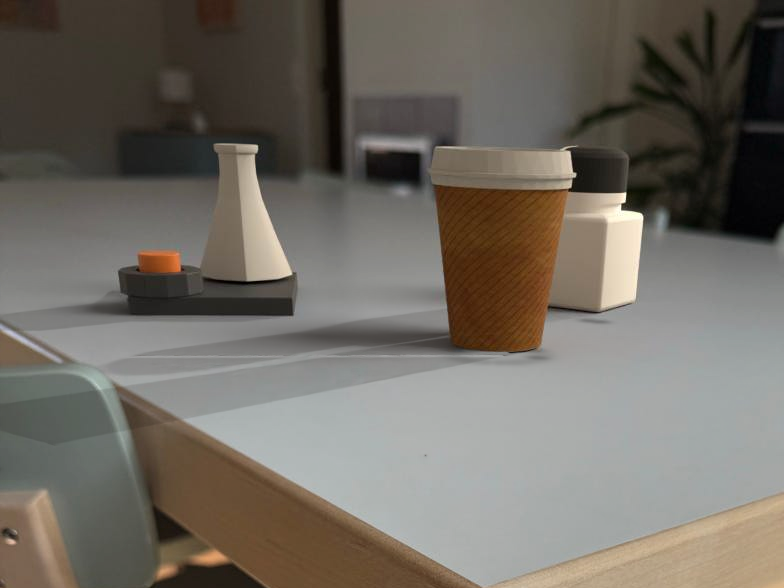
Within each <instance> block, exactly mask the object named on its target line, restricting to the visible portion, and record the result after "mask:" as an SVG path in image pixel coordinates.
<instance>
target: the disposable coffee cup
mask: <svg viewBox="0 0 784 588" xmlns="http://www.w3.org/2000/svg"><path fill="white" fill-rule="evenodd" d="M426 170H427V173H428V174H430V183H431V184H433V185H434V194H435V204H436V205H435V206H436V214H437V225H438V233H439V242H440V244H439V245H440V253H441V264H442V273H443V282H444V292H445V302H446V311H447V321H448V322H447V323H448V329H449V330H448V331H449V342H450V343H451V344H452V345H454V346H457V347H460V348H463V349H469V350H474V351H485V352H507V353H514V352H524V351H531V350H535V349H537V348H539V347H540V346H542V341H543V336H544V330H545V324H546V319H547V312H548V307H549V306H548V302H549V296H550V290H551V286H552V279H553V273H554V267H555V261H556V257H557V250H558V245H559V239H560V234H561V227H562V222H563V216H564V210H565V205H566V198H567V194H568V188H571V186H572V178H574V177H576V173H573V170H572V162H571V154H570V151H566V150H560V149H549V148H526V147H525V148H524V147H500V146H499V147H497V146H450V145H449V146H448V145H447V146H434V150H433V155H432V159H431V164H430V167H427V168H426Z"/></svg>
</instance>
